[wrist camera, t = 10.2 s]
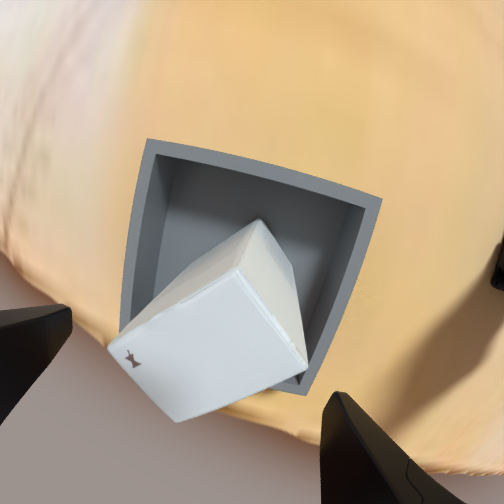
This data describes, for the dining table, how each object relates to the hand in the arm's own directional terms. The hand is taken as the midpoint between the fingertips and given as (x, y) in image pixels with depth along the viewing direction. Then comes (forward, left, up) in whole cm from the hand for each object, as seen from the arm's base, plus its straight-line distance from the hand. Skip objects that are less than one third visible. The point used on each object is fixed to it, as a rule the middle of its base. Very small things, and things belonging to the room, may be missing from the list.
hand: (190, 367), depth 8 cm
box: (0, 0, -13) cm, 13 cm away
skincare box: (0, 0, -13) cm, 13 cm away
